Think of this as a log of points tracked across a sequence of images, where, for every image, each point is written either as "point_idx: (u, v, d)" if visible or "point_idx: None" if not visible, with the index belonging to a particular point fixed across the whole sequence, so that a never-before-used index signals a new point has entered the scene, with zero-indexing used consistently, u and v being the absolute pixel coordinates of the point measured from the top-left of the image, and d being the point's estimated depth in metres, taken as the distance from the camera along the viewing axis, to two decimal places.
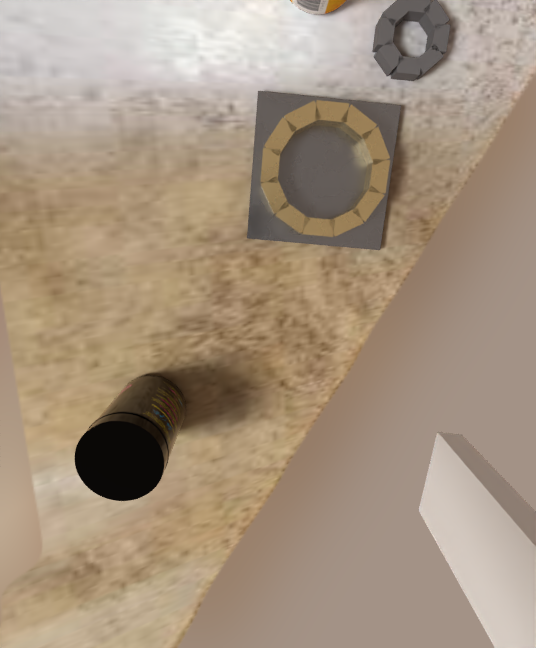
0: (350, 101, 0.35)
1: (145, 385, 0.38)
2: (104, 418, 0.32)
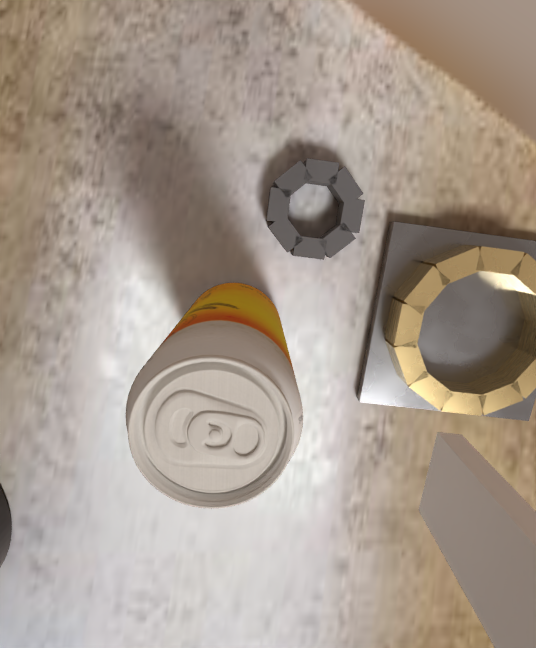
0: (382, 290, 0.27)
1: None
2: None
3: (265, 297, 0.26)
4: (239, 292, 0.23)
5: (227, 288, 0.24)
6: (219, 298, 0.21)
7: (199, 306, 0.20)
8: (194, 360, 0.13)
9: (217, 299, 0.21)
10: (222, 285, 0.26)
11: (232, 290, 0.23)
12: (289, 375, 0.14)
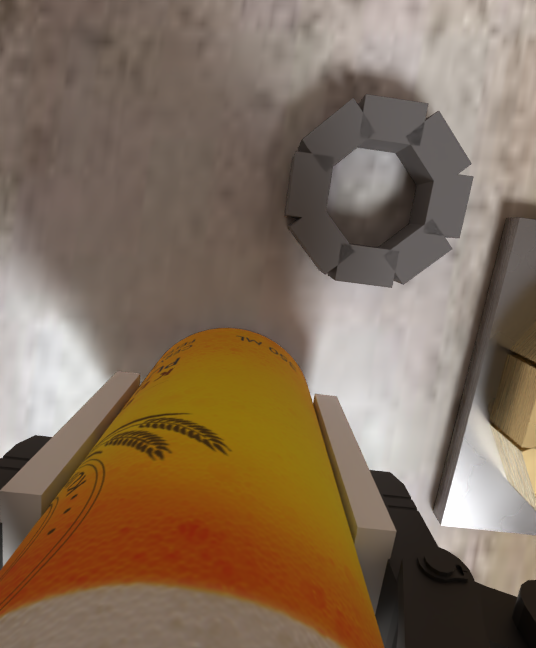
0: (491, 339, 0.15)
1: None
2: None
3: (284, 358, 0.14)
4: (235, 362, 0.11)
5: (212, 347, 0.12)
6: (187, 391, 0.09)
7: (137, 417, 0.08)
8: None
9: (182, 395, 0.09)
10: (205, 335, 0.14)
11: (221, 355, 0.12)
12: None
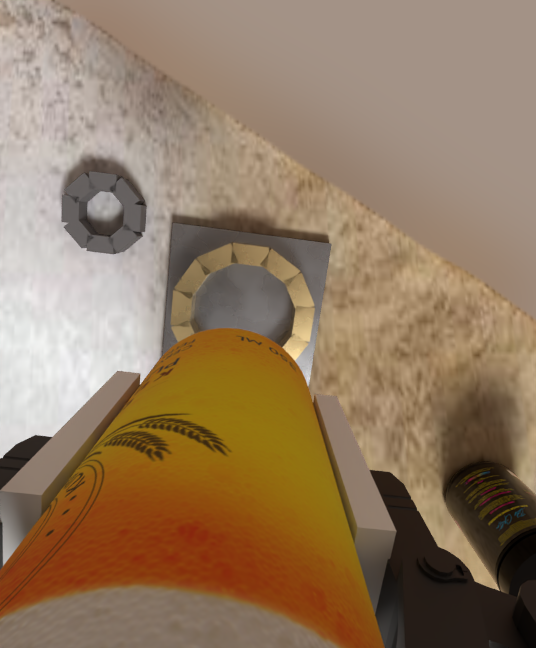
0: (169, 279, 0.32)
1: (460, 511, 0.35)
2: (502, 590, 0.29)
3: (284, 358, 0.14)
4: (235, 362, 0.11)
5: (212, 347, 0.12)
6: (187, 391, 0.09)
7: (136, 418, 0.08)
8: None
9: (182, 395, 0.09)
10: (205, 335, 0.14)
11: (221, 356, 0.12)
12: None
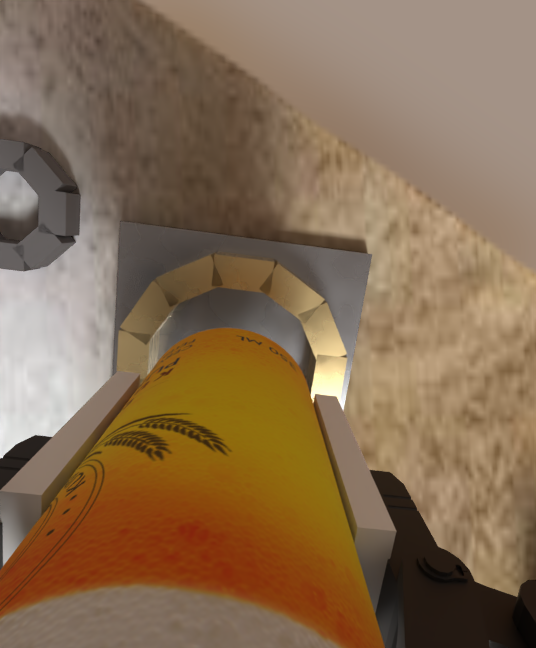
0: (117, 310, 0.21)
1: None
2: None
3: (284, 358, 0.14)
4: (235, 362, 0.11)
5: (212, 347, 0.12)
6: (187, 391, 0.09)
7: (136, 417, 0.08)
8: None
9: (182, 395, 0.09)
10: (205, 335, 0.14)
11: (221, 355, 0.12)
12: None
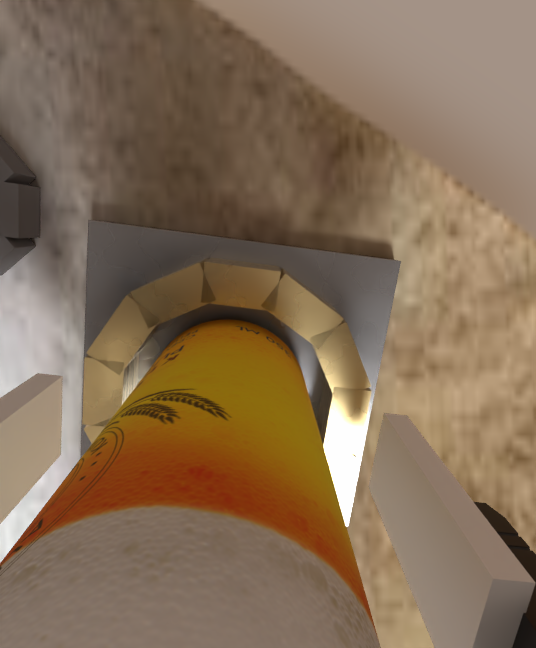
0: (87, 329, 0.17)
1: None
2: None
3: (280, 346, 0.15)
4: (234, 348, 0.12)
5: (214, 336, 0.14)
6: (192, 371, 0.10)
7: (148, 394, 0.10)
8: None
9: (187, 375, 0.10)
10: (207, 326, 0.15)
11: (222, 343, 0.13)
12: None
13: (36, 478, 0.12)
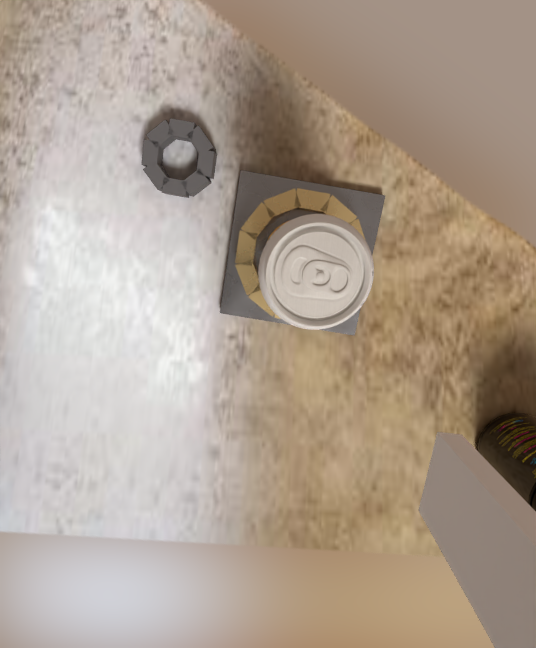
0: (234, 223, 0.35)
1: (493, 454, 0.37)
2: None
3: None
4: None
5: None
6: None
7: None
8: (312, 223, 0.21)
9: None
10: None
11: None
12: (366, 243, 0.22)
13: None
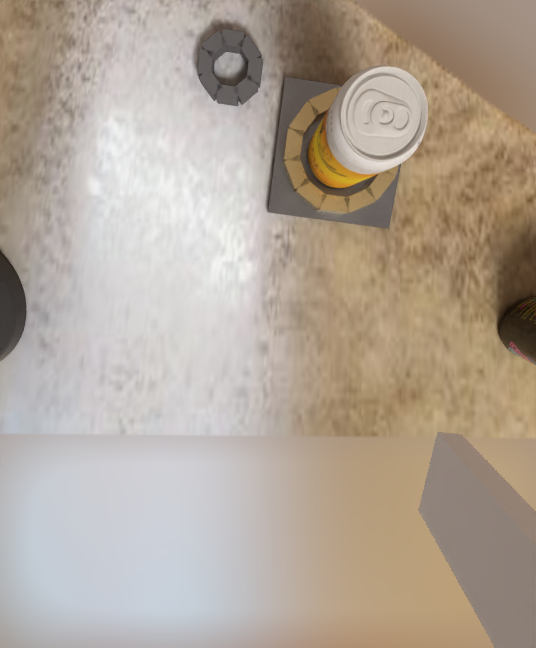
0: (279, 127, 0.39)
1: (515, 329, 0.42)
2: None
3: None
4: None
5: None
6: None
7: None
8: (379, 67, 0.25)
9: None
10: None
11: None
12: None
13: None
